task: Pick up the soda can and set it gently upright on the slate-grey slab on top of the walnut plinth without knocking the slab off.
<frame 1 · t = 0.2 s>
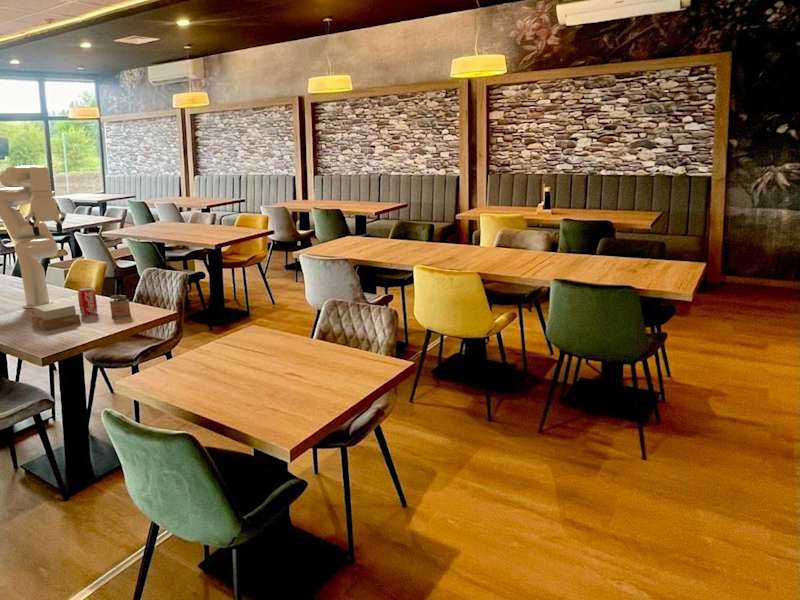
hand: (48, 234, 279), 36 cm above the table, tool pointing down, fingers open, 9 cm apart
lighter: (121, 317, 281), on the table
soda can: (89, 314, 286), on the table
tower base: (56, 324, 271), on the table
tower top: (55, 315, 270), point 4 cm above the table, touching tower base
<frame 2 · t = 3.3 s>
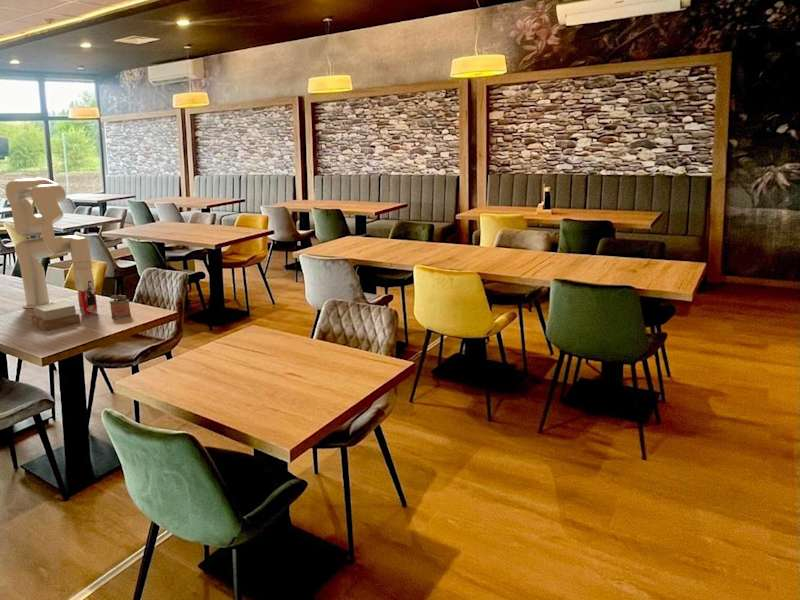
hand: (88, 303, 285), 5 cm above the table, tool pointing down, fingers closed on soda can, 7 cm apart
soda can: (89, 314, 286), on the table, touching gripper
everything else where it was.
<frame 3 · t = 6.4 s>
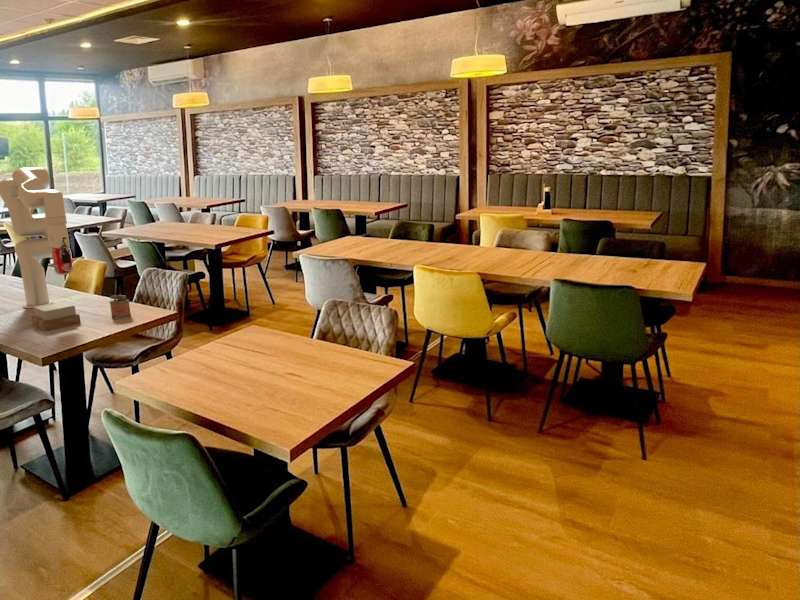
hand: (62, 262, 271), 26 cm above the table, tool pointing down, fingers closed on soda can, 7 cm apart
soda can: (64, 273, 273), point 21 cm above the table, touching gripper
everything else where it was.
when the fingers open (13 cm above the table, at t = 9.6 s): soda can stays where it is, resting on tower top.
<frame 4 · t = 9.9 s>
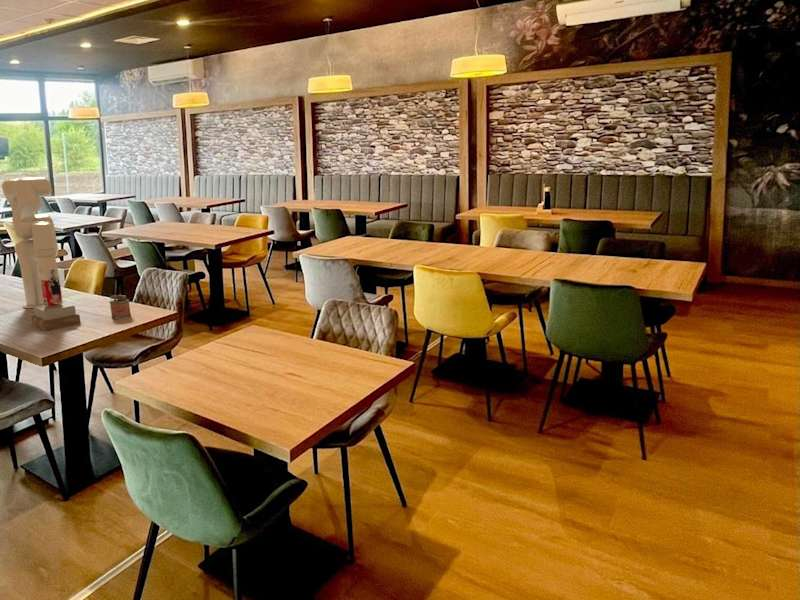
hand: (51, 292, 268), 14 cm above the table, tool pointing down, fingers open, 9 cm apart
soda can: (54, 306, 270), point 8 cm above the table, touching tower top
tower top: (55, 315, 270), point 4 cm above the table, touching soda can, tower base
everything else where it was.
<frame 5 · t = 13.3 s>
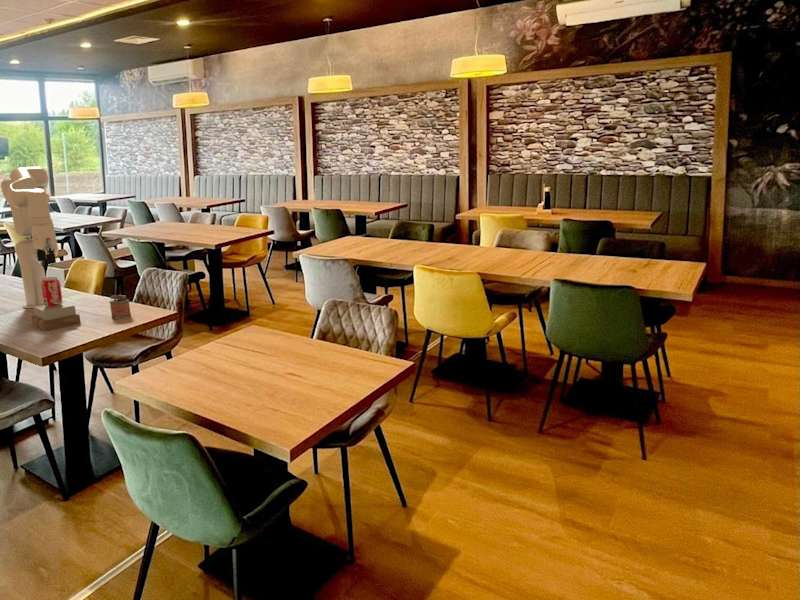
hand: (47, 262, 265), 27 cm above the table, tool pointing down, fingers open, 9 cm apart
nothing on the table moved.
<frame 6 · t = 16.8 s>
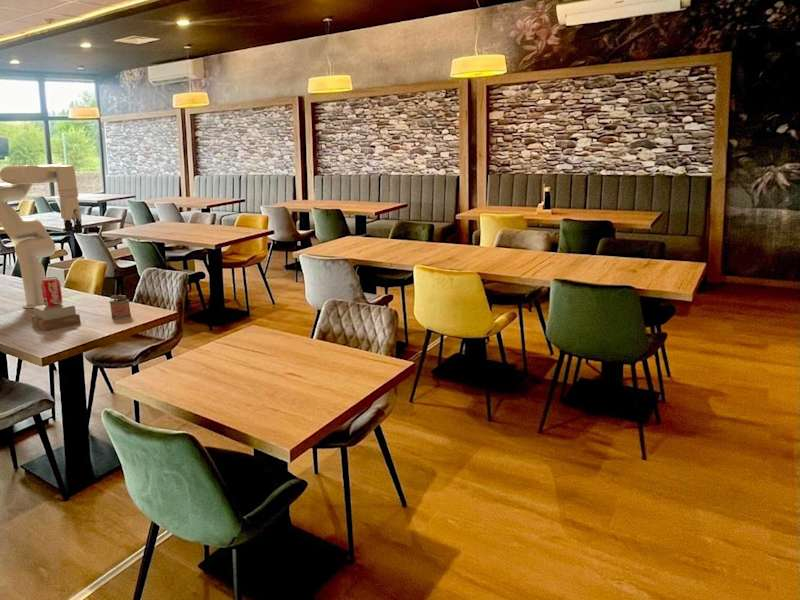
hand: (74, 232, 284), 36 cm above the table, tool pointing down, fingers open, 9 cm apart
nothing on the table moved.
at the end: soda can 0.3 cm off-centre on the tower top, point 3.8 cm above the tower top's base; soda can tilted 0°; tower top inside the target area (0.0 cm from its centre), point 4.0 cm above the table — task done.
